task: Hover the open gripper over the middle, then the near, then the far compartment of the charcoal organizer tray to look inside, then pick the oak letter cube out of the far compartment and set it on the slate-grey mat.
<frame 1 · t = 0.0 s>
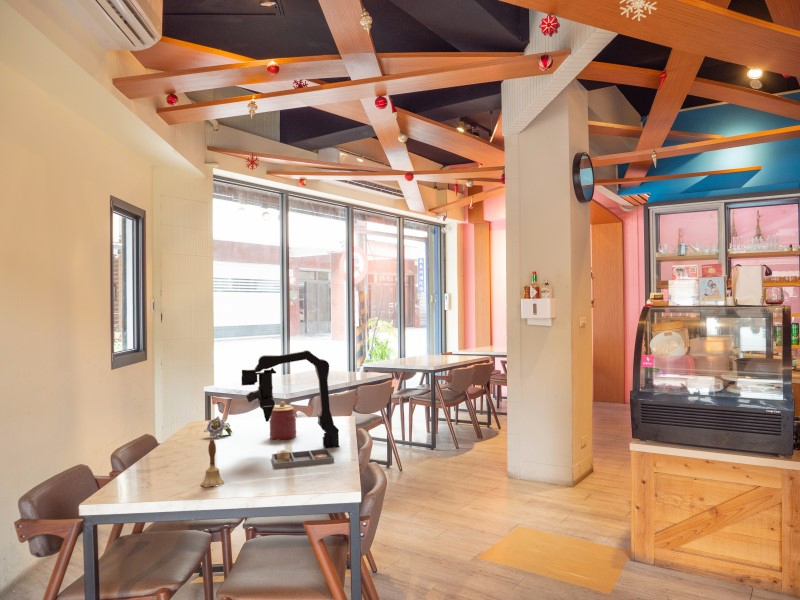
hand: (266, 419, 256), 15 cm above the table, tool pointing down, fingers open, 9 cm apart
hand bell: (212, 484, 211), on the table
canister: (283, 437, 288), on the table
organizer tray: (302, 461, 238), on the table
peach egg shape: (320, 458, 240), resting on organizer tray
letter cube: (283, 462, 236), resting on organizer tray
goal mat: (292, 454, 252), on the table
passion flower: (218, 436, 296), on the table
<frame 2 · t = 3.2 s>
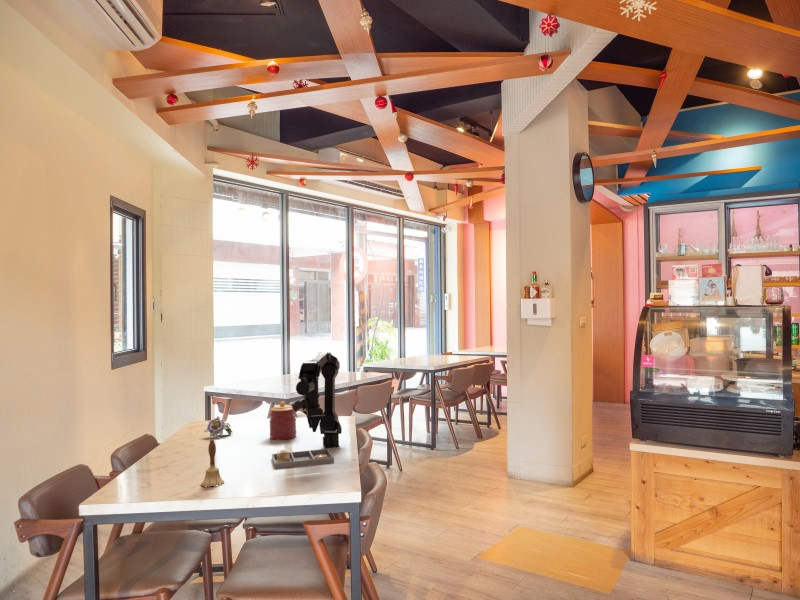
hand: (312, 429, 240), 13 cm above the table, tool pointing down, fingers open, 9 cm apart
nothing on the table moved.
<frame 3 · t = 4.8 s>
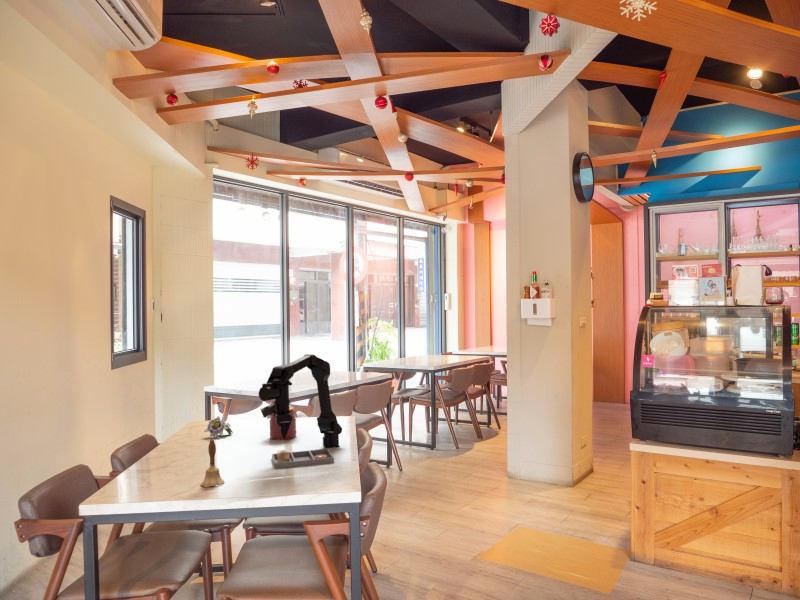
hand: (283, 435, 236), 11 cm above the table, tool pointing down, fingers open, 9 cm apart
nothing on the table moved.
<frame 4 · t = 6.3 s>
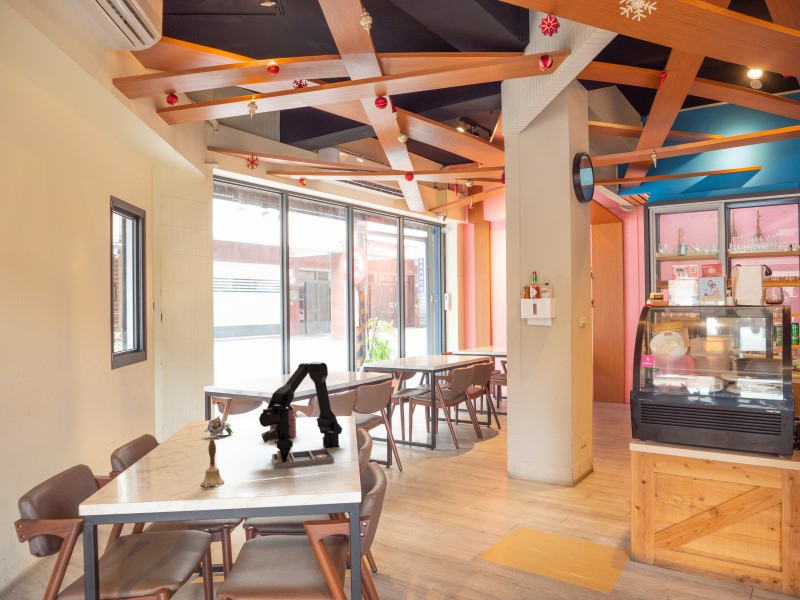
hand: (283, 460, 236), 1 cm above the table, tool pointing down, fingers closed on letter cube, 4 cm apart
letter cube: (283, 462, 236), resting on organizer tray, touching gripper
everything else where it was.
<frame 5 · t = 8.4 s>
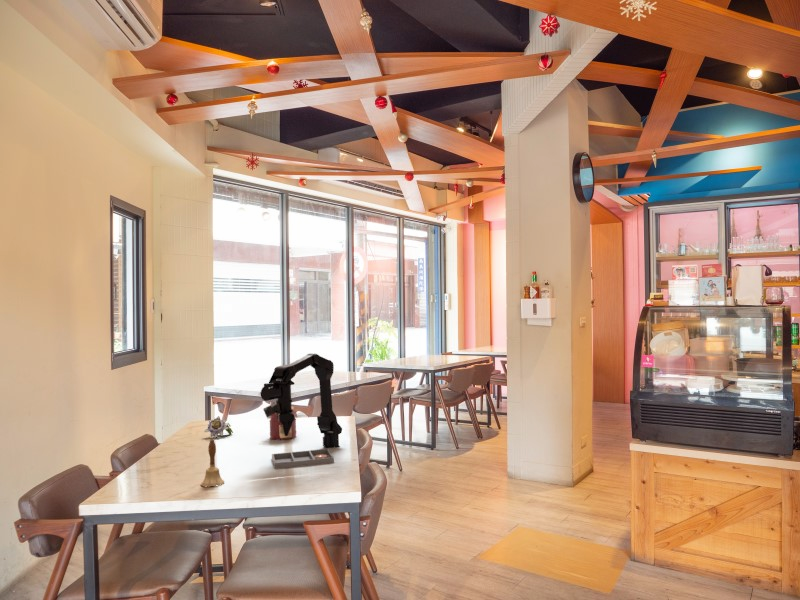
hand: (285, 434, 240), 11 cm above the table, tool pointing down, fingers closed on letter cube, 4 cm apart
letter cube: (285, 436, 240), point 10 cm above the table, touching gripper
everything else where it was.
when the fingers open (3 cm above the table, at t = 10.8 s): letter cube drops 2 cm, resting on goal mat.
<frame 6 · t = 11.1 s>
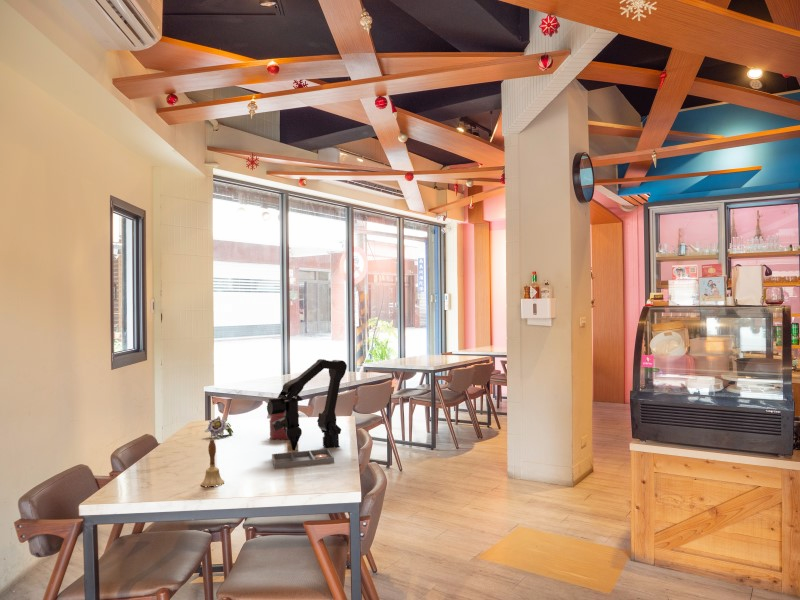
hand: (292, 447, 252), 3 cm above the table, tool pointing down, fingers open, 8 cm apart
letter cube: (292, 453, 252), resting on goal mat
everything else where it was.
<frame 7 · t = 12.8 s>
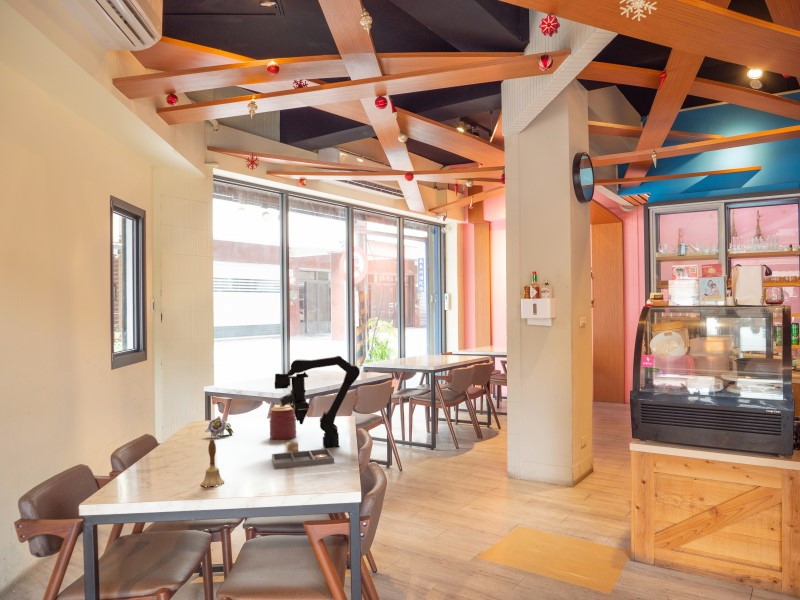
hand: (299, 422, 262), 12 cm above the table, tool pointing down, fingers open, 9 cm apart
nothing on the table moved.
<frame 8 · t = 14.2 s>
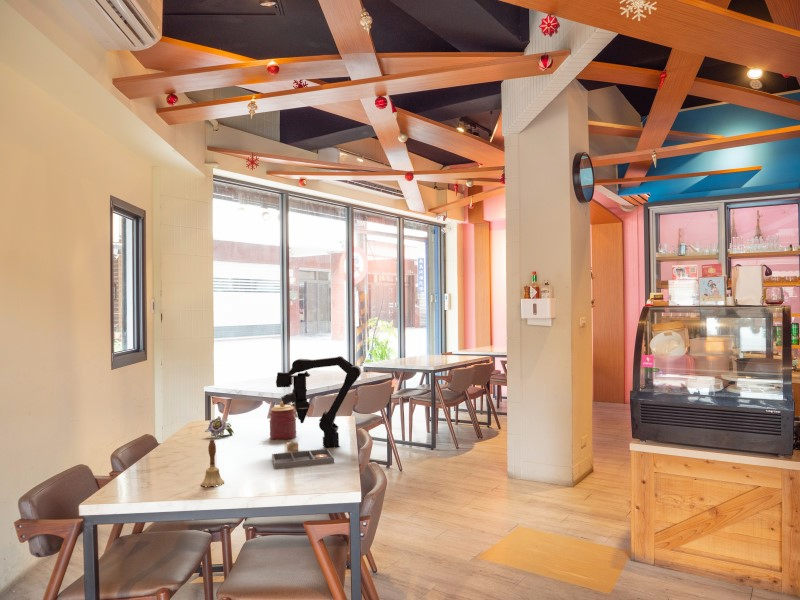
hand: (300, 421, 264), 12 cm above the table, tool pointing down, fingers open, 9 cm apart
nothing on the table moved.
at the end: letter cube inside the target area (0.0 cm from its centre), resting on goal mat; letter cube tilted 0°; the gripper is holding nothing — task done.
